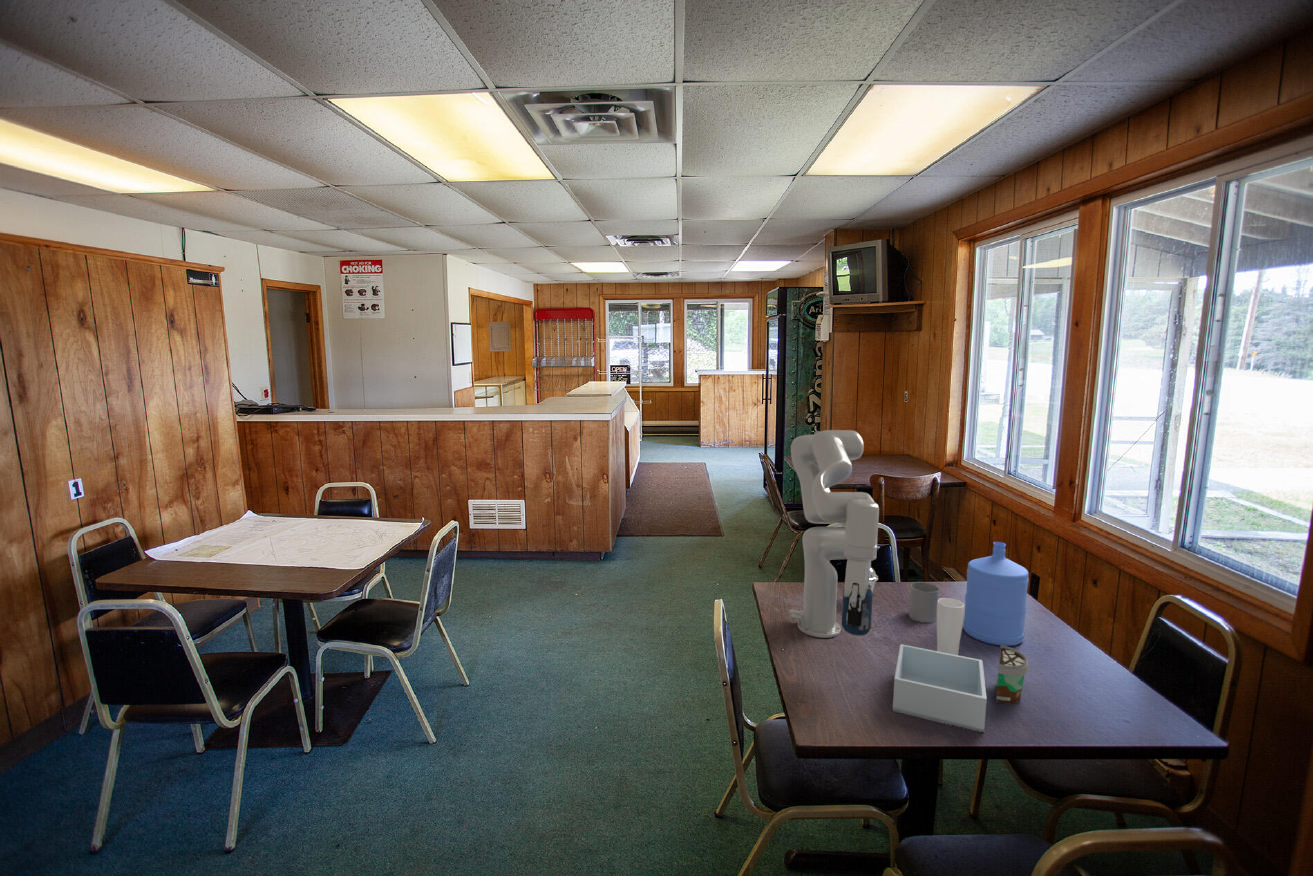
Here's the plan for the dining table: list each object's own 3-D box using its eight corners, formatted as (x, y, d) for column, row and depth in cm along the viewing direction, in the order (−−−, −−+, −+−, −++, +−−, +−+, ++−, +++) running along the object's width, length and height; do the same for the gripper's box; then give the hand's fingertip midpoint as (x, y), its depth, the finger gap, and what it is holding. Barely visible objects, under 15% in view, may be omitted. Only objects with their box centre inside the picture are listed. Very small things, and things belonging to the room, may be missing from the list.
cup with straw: (848, 599, 200) (850, 542, 198) (876, 601, 198) (878, 544, 196) (851, 609, 192) (853, 550, 189) (880, 612, 190) (883, 552, 188)
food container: (1026, 713, 136) (1029, 672, 134) (995, 704, 139) (998, 665, 138) (1026, 688, 146) (1029, 650, 145) (997, 681, 149) (1000, 643, 148)
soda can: (849, 621, 152) (851, 577, 150) (875, 630, 147) (878, 585, 145) (836, 630, 147) (838, 584, 145) (862, 640, 142) (865, 593, 140)
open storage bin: (892, 711, 136) (894, 678, 135) (898, 673, 153) (900, 644, 152) (983, 733, 128) (986, 699, 127) (980, 690, 145) (982, 660, 144)
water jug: (1012, 653, 164) (1020, 556, 160) (954, 633, 175) (960, 542, 172) (1031, 635, 174) (1039, 544, 170) (974, 618, 185) (981, 532, 182)
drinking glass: (964, 661, 159) (968, 608, 157) (937, 659, 160) (940, 606, 158) (956, 649, 166) (960, 598, 164) (931, 647, 167) (934, 596, 165)
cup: (939, 615, 188) (941, 585, 186) (935, 625, 181) (937, 594, 179) (911, 609, 192) (912, 580, 191) (906, 618, 185) (908, 588, 184)
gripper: (849, 537, 153) (846, 602, 156) (838, 559, 138) (834, 630, 140) (880, 541, 150) (876, 607, 153) (872, 564, 134) (867, 637, 137)
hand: (856, 618), depth 146 cm, fingers closed on soda can, 7 cm apart
